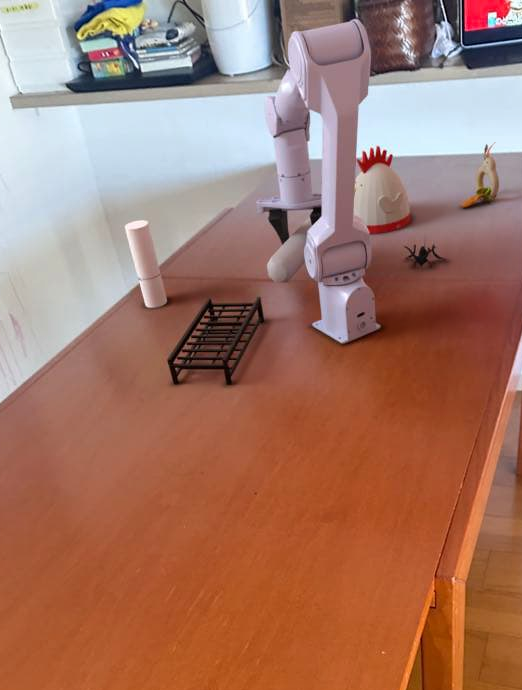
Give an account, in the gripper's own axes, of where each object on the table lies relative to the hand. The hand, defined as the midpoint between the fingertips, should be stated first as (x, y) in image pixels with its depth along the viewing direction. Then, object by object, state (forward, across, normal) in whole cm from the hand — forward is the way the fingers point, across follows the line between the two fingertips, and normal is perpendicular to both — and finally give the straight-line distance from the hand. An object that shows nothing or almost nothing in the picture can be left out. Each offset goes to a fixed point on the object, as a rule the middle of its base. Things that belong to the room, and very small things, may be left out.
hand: (302, 250), depth 141 cm
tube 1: (+7, +29, +6) cm, 30 cm away
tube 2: (+2, 0, 0) cm, 2 cm away
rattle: (+7, -30, -42) cm, 52 cm away
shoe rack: (+7, +10, +25) cm, 28 cm away
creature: (+7, -21, -9) cm, 24 cm away
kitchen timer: (+7, -9, -32) cm, 34 cm away
